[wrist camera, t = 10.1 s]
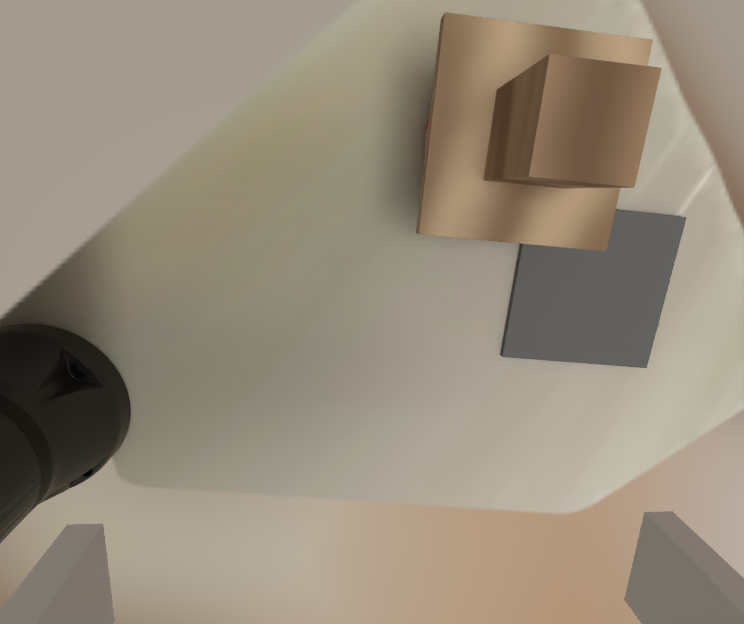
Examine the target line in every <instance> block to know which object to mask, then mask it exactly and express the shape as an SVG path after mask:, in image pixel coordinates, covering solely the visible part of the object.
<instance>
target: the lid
mask: <svg viewBox="0 0 744 624" xmlns="http://www.w3.org/2000/svg"><path fill="white" fill-rule="evenodd" d="M652 41H653V40H651V39H643V38H636V37H628V36H620V35H613V34H605V33H597V32H590V31H582V30H574V29H567V28H559V27H552V26H544V25H536V24H529V23H521V22H513V21H506V20H498V19H490V18H483V17H475V16H468V15H460V14H452V13H444V15H443V16H442V18H441V23H440V32H439V40H438V49H437V57H436V66H435V75H434V83H433V92H432V100H431V109H430V117H429V126H428V135H427V143H426V152H425V160H424V169H423V177H422V186H421V194H420V203H419V212H418V220H417V229H416V233H417V234H423V235H434V236H445V237H456V238H467V239H478V240H489V241H500V242H511V243H522V244H532V245H543V246H554V247H565V248H576V249H587V250H598V251H606V250H607V246H608V241H609V236H610V232H611V227H612V223H613V218H614V214H615V209H616V205H617V200H618V196H619V191H620V188H630V187H634V186H635V182H636V178H637V173H638V169H639V164H640V160H641V156H642V151H643V147H644V142H645V138H646V134H647V129H648V125H649V120H650V116H651V112H652V107H653V103H654V98H655V94H656V90H657V85H658V81H659V76H660V72H661V68H658V67H650V66H647V64H648V59H649V55H650V50H651V46H652Z"/></svg>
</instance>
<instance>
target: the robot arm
mask: <svg viewBox="0 0 744 624" xmlns="http://www.w3.org/2000/svg"><path fill="white" fill-rule="evenodd" d="M129 420H130V405H129V399H128V394H127V391H126V388H125V385H124V383H123V381H122V379H121V377H120V375H119V374H118V372H117V370H116V369H115V367H114V366H113V365H112V364H111V362H110V361H109V360H108V359H107V358H106V357H105V356H104V355H103V354H102V353H101V352H100V351H99V350H98V349H97V348H95V347H94V346H93V345H91V344H90V343H88V342H87V341H85V340H84V339H82V338H80V337H78V336H76V335H74V334H72V333H70V332H67V331H65V330H62V329H59V328H55V327H51V326H46V325H38V324H19V325H12V326H7V327H3V328H0V543H1V542H2V541H3V540H4V539H5V538H6V537H7V535H8V534H9V533H10V532H11V531H12V530H13V529H14V528H15V527H16V526H17V525H18V524H19V523H20V522H21V521H22V520H23V519H24V518H25V517H26V516H27V515H28V513H30V512H31V510H33V509H34V508H35V507H36V506H37V505H38V504H40V503H42V502H43V501H46V500H48V499H50V498H51V497H54V496H55V495H58V494H60V493H62V492H64V491H66V490H67V489H69V488H71V487H74V486H76V485H78V484H79V483H82V482H83V481H85V480H87V479H88V478H90V477H91V476H93V475H94V474H95V473H96V472H98V471H99V470H100V469H101V468H102V467H103V466H104V465H105V464H106V463H107V461H108V460H109V459H110V458H111V457H112V456H113V455H114V454H115V452H116V451H117V450H118V448H119V447H120V446H121V444H122V442H123V440H124V438H125V436H126V433H127V430H128V426H129ZM624 600H625V601H626V602H627V604H628V605H629V607H630V608H631V609H632V611H633V612H634V613H635V615H636V616H637V618H638V619H639V620H640V622H641V623H642V624H744V578H743V577H742V576H741V575H739V574H738V573H737V572H736V571H735V570H734V569H733V568H732V567H731V566H730V565H729V564H728V563H727V562H726V561H725V560H723V558H721V557H720V556H719V555H718V554H717V553H716V552H715V551H714V550H713V549H712V548H711V547H710V546H709V545H707V544H706V543H705V542H704V541H703V540H702V539H701V538H700V537H699V536H698V535H697V534H696V533H695V532H694V531H693V530H692V529H690V528H689V527H688V526H687V525H686V524H685V523H684V522H683V521H682V520H681V519H680V518H679V517H677V515H676V514H674V513H673V512H644V516H643V521H642V525H641V530H640V534H639V538H638V543H637V547H636V551H635V556H634V561H633V564H632V569H631V573H630V577H629V582H628V586H627V590H626V595H625V599H624ZM113 623H114V613H113V604H112V595H111V587H110V579H109V571H108V562H107V553H106V545H105V536H104V528H103V524H77V525H76V524H75V525H67V526H66V527H65V528H64V529H63V531H62V532H61V533H60V535H59V536H58V537H57V539H56V540H55V541H54V542H53V544H52V545H51V546H50V547H49V549H48V550H47V551H46V553H45V554H44V555H43V556H42V558H41V559H40V560H39V561H38V563H37V564H36V565H35V567H34V568H33V569H32V570H31V572H30V573H29V574H28V576H27V577H26V578H25V579H24V581H23V582H22V583H21V584H20V586H19V587H18V588H17V590H16V591H15V592H14V593H13V595H12V596H11V597H10V599H9V600H8V601H7V603H6V604H5V605H4V606H3V607H2V609H1V610H0V624H113Z"/></svg>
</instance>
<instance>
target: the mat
mask: <svg viewBox="0 0 744 624" xmlns="http://www.w3.org/2000/svg"><path fill="white" fill-rule="evenodd" d="M685 221H686V217H678V216H668V215H659V214H649V213H640V212H631V211H621V210H615V214H614V218H613V223H612V227H611V232H610V236H609V241H608V246H607V250H606V251H598V250H587V249H576V248H565V247H554V246H543V245H532V244H522V243H520V248H519V254H518V260H517V265H516V271H515V276H514V282H513V287H512V293H511V299H510V304H509V310H508V315H507V321H506V326H505V332H504V338H503V343H502V349H501V354H500V355H501V356H502V357H511V358H524V359H537V360H550V361H563V362H576V363H589V364H602V365H615V366H628V367H640V368H647V364H648V360H649V357H650V353H651V349H652V345H653V342H654V338H655V334H656V330H657V326H658V323H659V319H660V315H661V311H662V308H663V304H664V300H665V296H666V292H667V289H668V285H669V281H670V277H671V274H672V270H673V266H674V262H675V258H676V255H677V251H678V247H679V243H680V240H681V236H682V232H683V228H684V224H685Z"/></svg>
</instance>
